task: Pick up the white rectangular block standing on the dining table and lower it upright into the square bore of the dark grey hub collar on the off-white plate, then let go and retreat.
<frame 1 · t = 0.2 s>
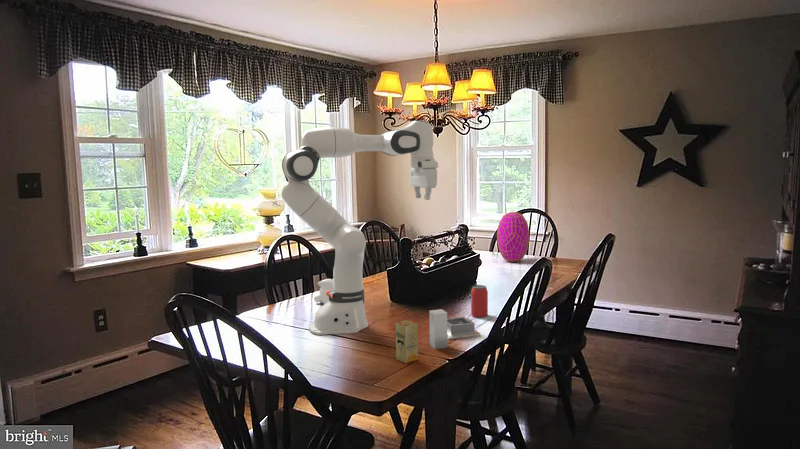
hand: (422, 199, 220), 48 cm above the table, tool pointing down, fingers open, 8 cm apart
white rectangular block: (438, 346, 191), on the table
decorative egg: (513, 261, 342), on the table
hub: (457, 332, 205), on the table
fox head: (331, 305, 250), on the table
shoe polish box: (407, 359, 180), on the table
beer can: (479, 316, 227), on the table
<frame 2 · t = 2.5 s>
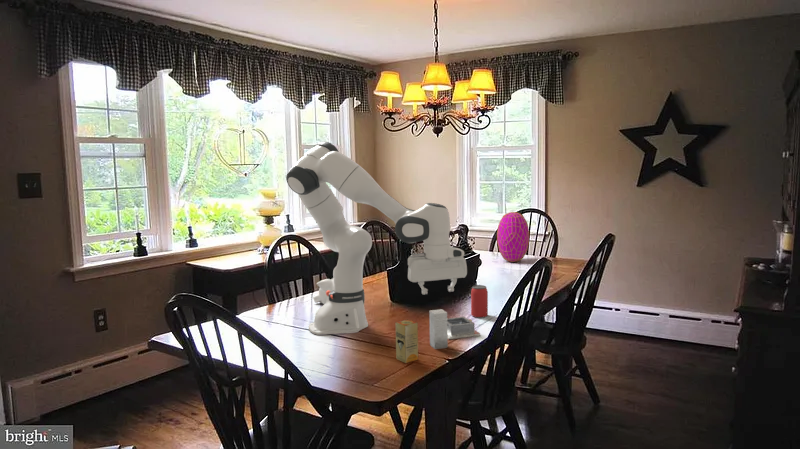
hand: (437, 292, 189), 18 cm above the table, tool pointing down, fingers open, 8 cm apart
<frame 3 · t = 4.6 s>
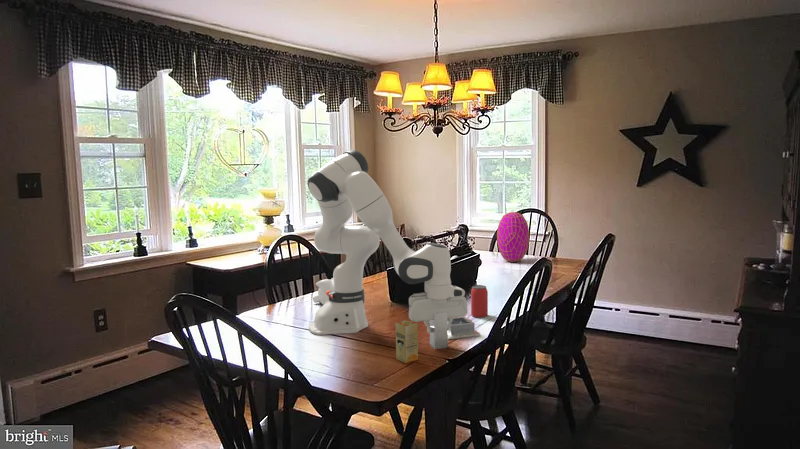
hand: (438, 331, 191), 5 cm above the table, tool pointing down, fingers closed on white rectangular block, 5 cm apart
white rectangular block: (438, 346, 191), on the table, touching gripper
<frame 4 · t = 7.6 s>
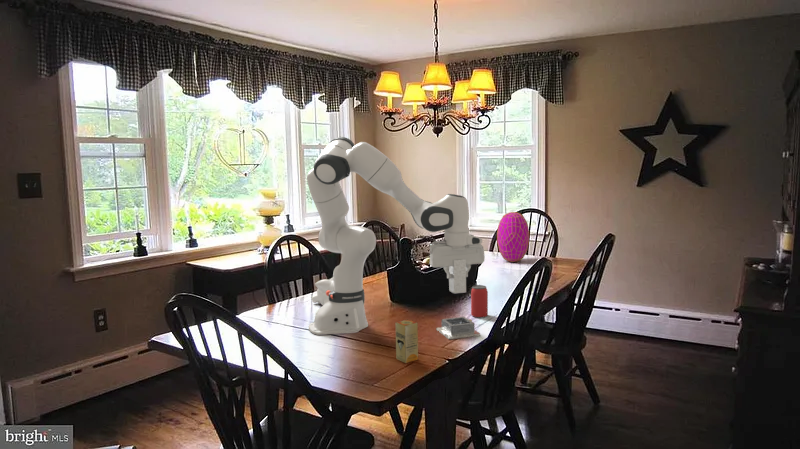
hand: (457, 277, 203), 20 cm above the table, tool pointing down, fingers closed on white rectangular block, 5 cm apart
white rectangular block: (457, 291, 203), point 15 cm above the table, touching gripper
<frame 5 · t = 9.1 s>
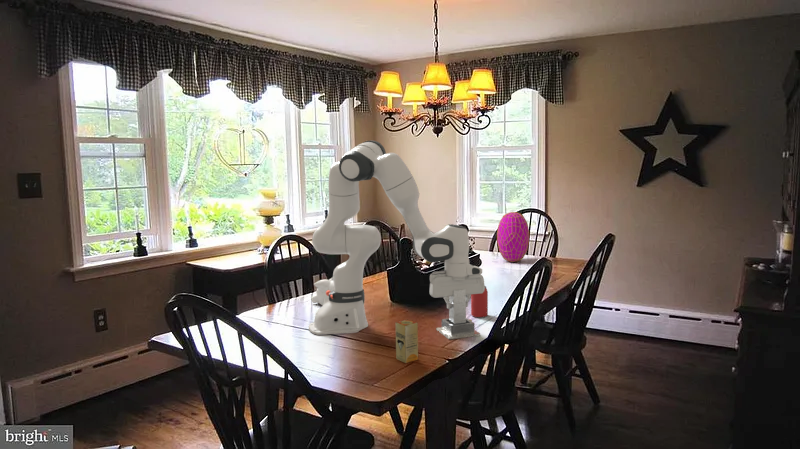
hand: (457, 307, 203), 10 cm above the table, tool pointing down, fingers closed on white rectangular block, 5 cm apart
white rectangular block: (457, 321, 204), point 5 cm above the table, touching gripper
when the fingers open (7 cm above the table, at t = 10.5 s): white rectangular block stays where it is, resting on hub.
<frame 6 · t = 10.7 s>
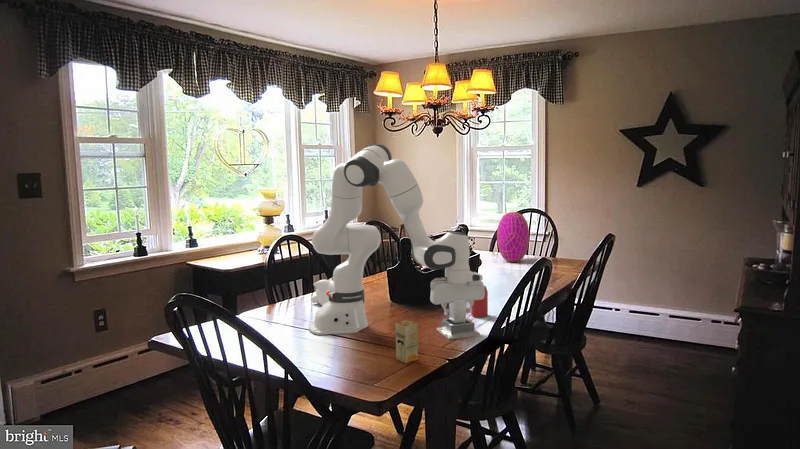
hand: (457, 313, 205), 7 cm above the table, tool pointing down, fingers open, 7 cm apart
white rectangular block: (457, 330, 205), point 1 cm above the table, touching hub
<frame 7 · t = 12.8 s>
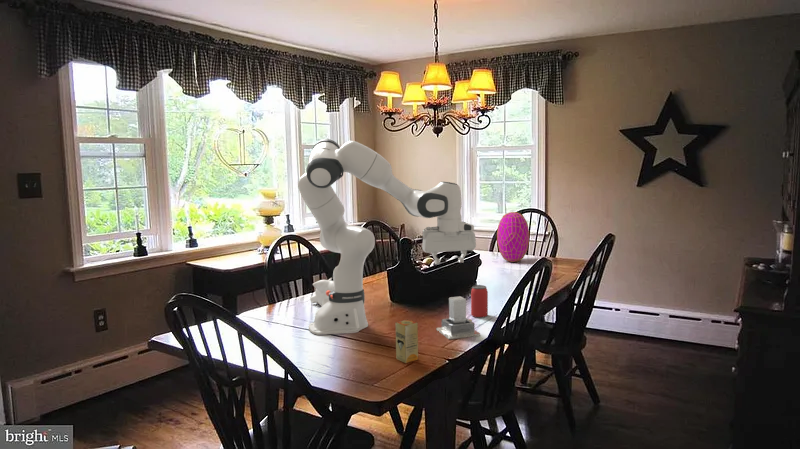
hand: (449, 263, 208), 25 cm above the table, tool pointing down, fingers open, 8 cm apart
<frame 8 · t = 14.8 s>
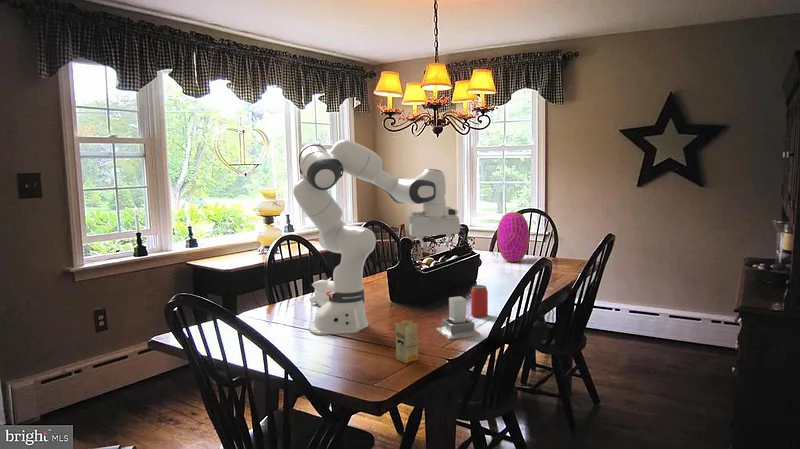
hand: (435, 246, 220), 29 cm above the table, tool pointing down, fingers open, 8 cm apart
at the end: white rectangular block 0.1 cm off-centre on the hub, point 0.8 cm above the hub's base; white rectangular block tilted 0°; the gripper is holding nothing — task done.
